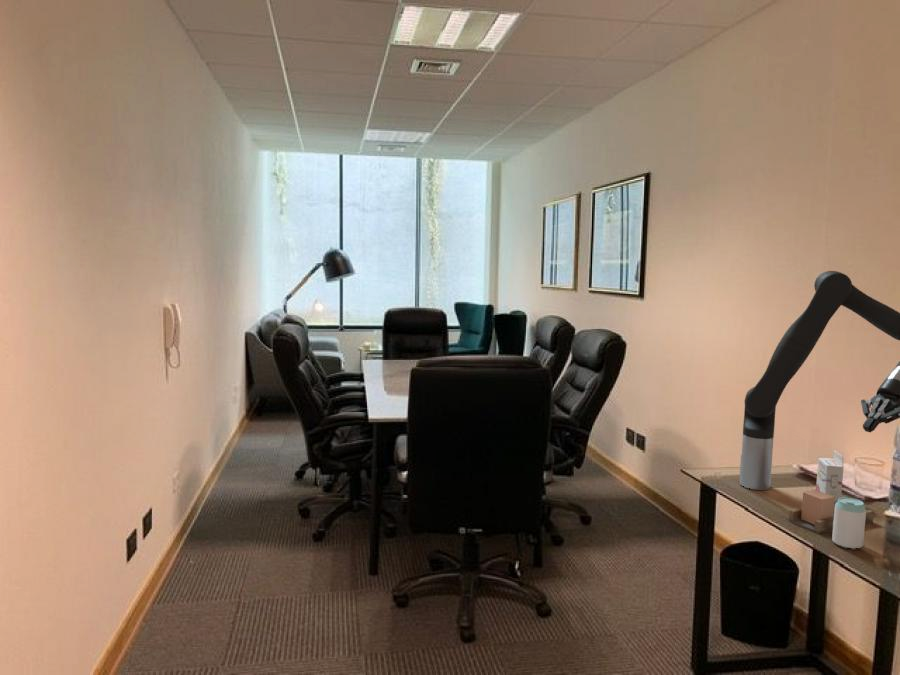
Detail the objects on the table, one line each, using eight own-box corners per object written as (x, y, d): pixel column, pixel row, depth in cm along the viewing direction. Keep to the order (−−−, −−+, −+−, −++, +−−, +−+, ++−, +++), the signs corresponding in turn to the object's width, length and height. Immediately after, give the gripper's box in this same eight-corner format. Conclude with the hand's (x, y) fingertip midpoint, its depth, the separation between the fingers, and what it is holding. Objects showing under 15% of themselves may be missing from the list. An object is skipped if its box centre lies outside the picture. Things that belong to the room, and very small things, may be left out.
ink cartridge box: (814, 492, 213) (818, 448, 211) (831, 493, 212) (835, 449, 210) (824, 501, 204) (827, 456, 203) (841, 503, 203) (845, 457, 202)
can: (869, 549, 171) (873, 505, 169) (845, 551, 170) (848, 506, 168) (849, 538, 178) (852, 495, 176) (825, 539, 177) (829, 496, 175)
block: (813, 516, 190) (815, 489, 189) (832, 524, 185) (834, 497, 184) (801, 519, 188) (803, 492, 187) (819, 527, 183) (822, 499, 182)
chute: (842, 510, 197) (843, 500, 197) (872, 522, 189) (873, 511, 188) (788, 521, 189) (789, 510, 189) (818, 533, 180) (819, 522, 180)
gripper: (871, 373, 198) (839, 416, 195) (916, 381, 186) (883, 427, 183) (881, 389, 201) (850, 432, 198) (927, 398, 189) (894, 444, 185)
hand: (866, 430), depth 190 cm, fingers closed
